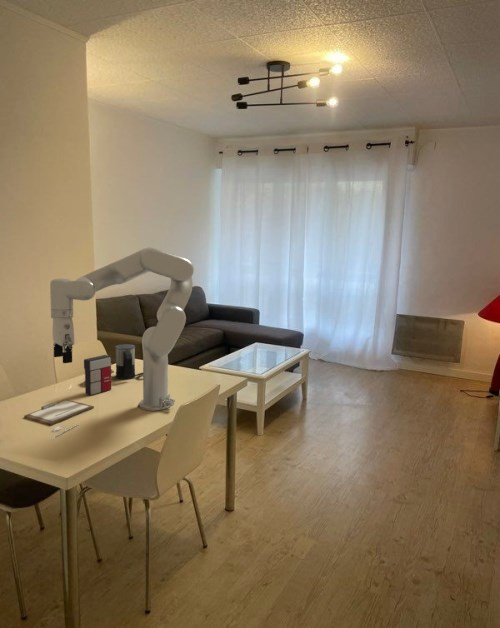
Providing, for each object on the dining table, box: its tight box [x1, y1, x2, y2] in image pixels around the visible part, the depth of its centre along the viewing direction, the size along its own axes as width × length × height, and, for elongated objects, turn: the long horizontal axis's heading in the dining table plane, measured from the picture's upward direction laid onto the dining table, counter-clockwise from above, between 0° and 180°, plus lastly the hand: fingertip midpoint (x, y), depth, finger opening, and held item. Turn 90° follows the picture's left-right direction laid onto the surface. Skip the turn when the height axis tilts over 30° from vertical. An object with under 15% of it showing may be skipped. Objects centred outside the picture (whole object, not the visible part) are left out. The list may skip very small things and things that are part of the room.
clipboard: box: [23, 399, 95, 426], centre depth 179 cm, size 14×20×2 cm
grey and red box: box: [83, 354, 112, 396], centre depth 202 cm, size 11×4×15 cm, turn 143°
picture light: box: [51, 423, 80, 440], centre depth 164 cm, size 14×4×2 cm, turn 161°
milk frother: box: [114, 343, 143, 380], centre depth 225 cm, size 14×16×15 cm
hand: (62, 359), depth 175 cm, fingers open, 9 cm apart
